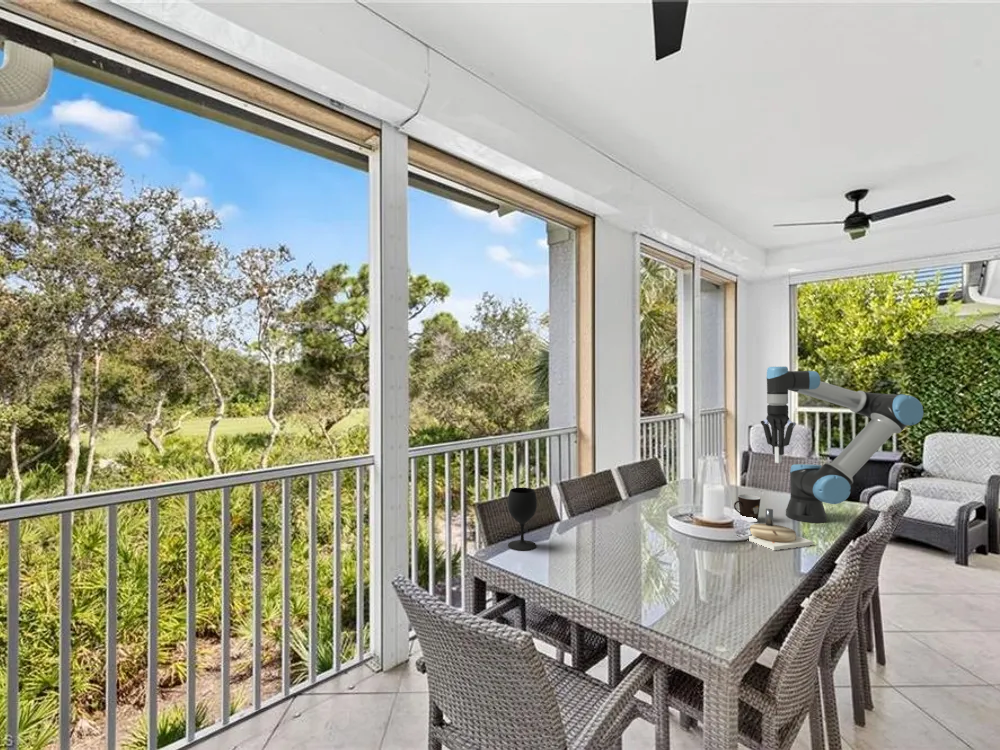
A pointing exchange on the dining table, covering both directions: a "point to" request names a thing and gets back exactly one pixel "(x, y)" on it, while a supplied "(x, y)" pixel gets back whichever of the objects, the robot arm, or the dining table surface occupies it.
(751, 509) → the coffee mug
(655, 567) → the dining table surface
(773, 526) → the dial
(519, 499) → the wine glass
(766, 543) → the base plate
